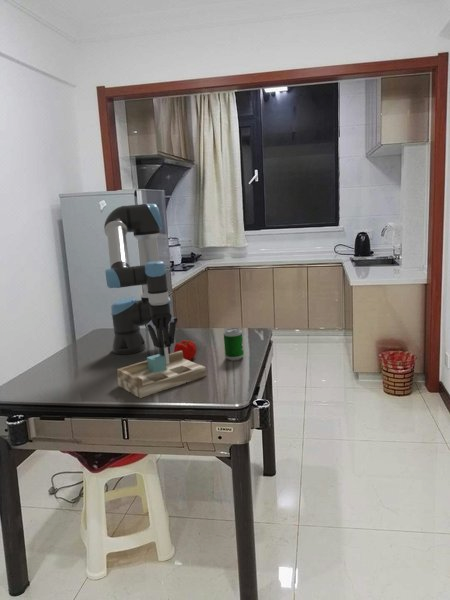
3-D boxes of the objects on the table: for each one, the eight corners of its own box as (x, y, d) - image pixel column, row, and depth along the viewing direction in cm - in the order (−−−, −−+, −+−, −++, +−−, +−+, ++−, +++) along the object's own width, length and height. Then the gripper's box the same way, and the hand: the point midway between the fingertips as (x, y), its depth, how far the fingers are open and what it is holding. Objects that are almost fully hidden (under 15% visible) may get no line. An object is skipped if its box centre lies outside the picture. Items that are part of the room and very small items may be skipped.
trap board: (118, 385, 189) (116, 369, 187) (182, 365, 205) (180, 350, 203) (140, 398, 175) (138, 380, 174) (206, 375, 191) (204, 359, 190)
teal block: (148, 369, 193) (146, 357, 192) (159, 366, 196) (158, 354, 194) (154, 373, 189) (152, 360, 188) (166, 369, 191) (164, 356, 190)
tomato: (180, 364, 207) (178, 346, 205) (172, 358, 215) (170, 341, 213) (201, 359, 211) (199, 342, 210) (192, 354, 219) (190, 337, 217)
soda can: (242, 360, 205) (240, 332, 202) (224, 361, 206) (221, 332, 204) (245, 354, 212) (243, 327, 209) (227, 355, 214) (225, 327, 211)
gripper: (169, 298, 196) (175, 356, 201) (139, 305, 189) (146, 365, 194) (179, 300, 190) (185, 360, 195) (148, 307, 183) (155, 369, 188)
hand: (166, 362), depth 194 cm, fingers closed
